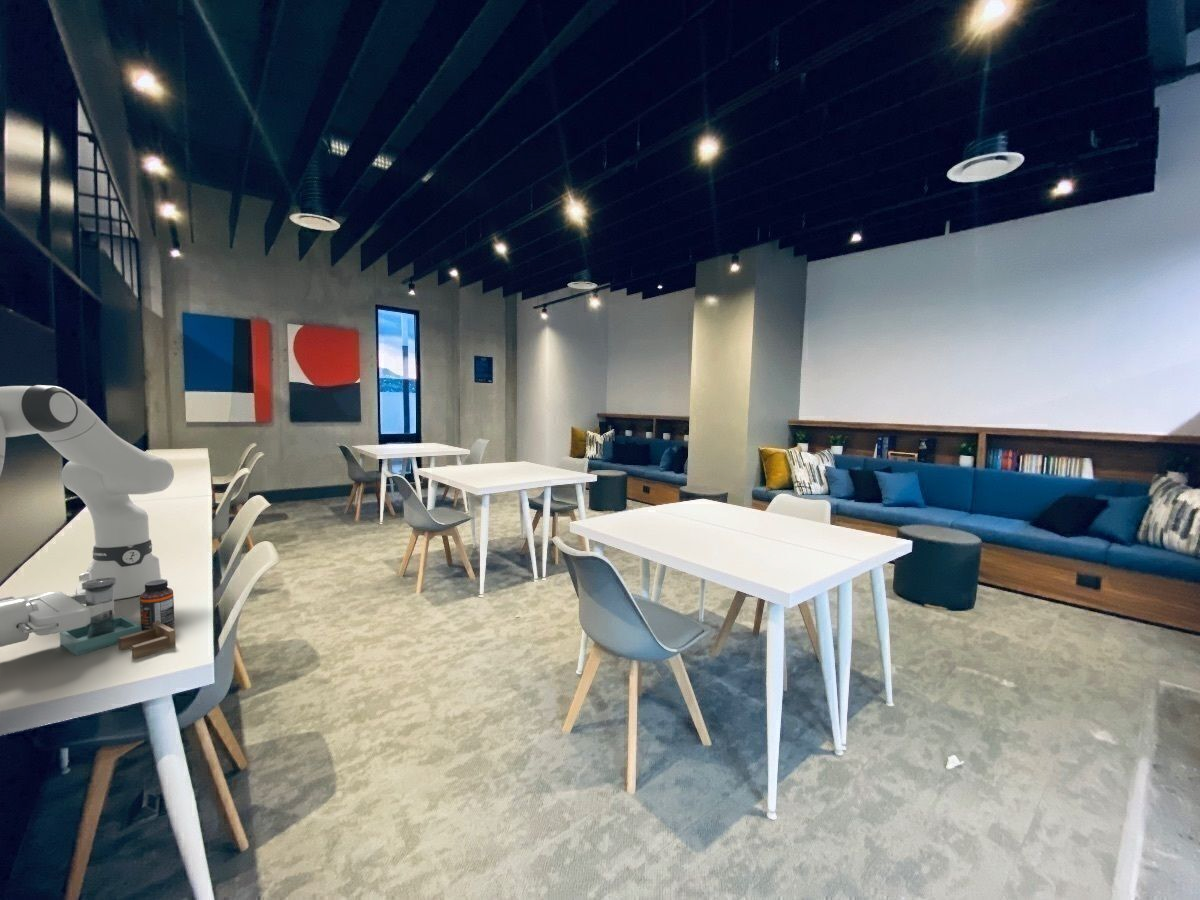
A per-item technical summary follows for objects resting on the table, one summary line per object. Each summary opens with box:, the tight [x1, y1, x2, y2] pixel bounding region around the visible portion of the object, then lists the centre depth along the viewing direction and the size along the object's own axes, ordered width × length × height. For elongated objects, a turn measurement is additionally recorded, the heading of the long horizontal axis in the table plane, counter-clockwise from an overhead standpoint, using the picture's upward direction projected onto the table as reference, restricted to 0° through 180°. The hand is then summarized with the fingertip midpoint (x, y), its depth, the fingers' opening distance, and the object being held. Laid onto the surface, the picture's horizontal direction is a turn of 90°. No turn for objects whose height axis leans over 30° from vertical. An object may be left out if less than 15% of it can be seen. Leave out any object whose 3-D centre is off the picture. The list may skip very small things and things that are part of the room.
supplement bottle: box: [139, 579, 175, 631], centre depth 118 cm, size 6×6×11 cm
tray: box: [59, 615, 142, 656], centre depth 112 cm, size 11×11×3 cm
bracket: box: [118, 621, 176, 660], centre depth 108 cm, size 9×7×4 cm
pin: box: [81, 578, 116, 639], centre depth 111 cm, size 5×5×12 cm
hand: (105, 600), depth 112 cm, fingers open, 8 cm apart
